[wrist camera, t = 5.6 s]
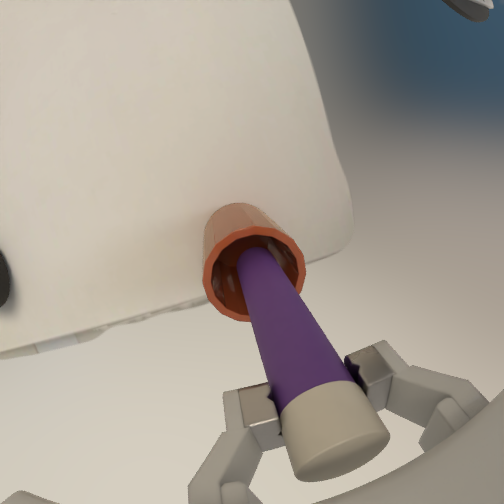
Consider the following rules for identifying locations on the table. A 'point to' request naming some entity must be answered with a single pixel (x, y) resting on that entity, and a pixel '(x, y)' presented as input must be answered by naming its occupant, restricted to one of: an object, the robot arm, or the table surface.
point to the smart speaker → (3, 282)
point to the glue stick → (307, 378)
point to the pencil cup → (233, 245)
